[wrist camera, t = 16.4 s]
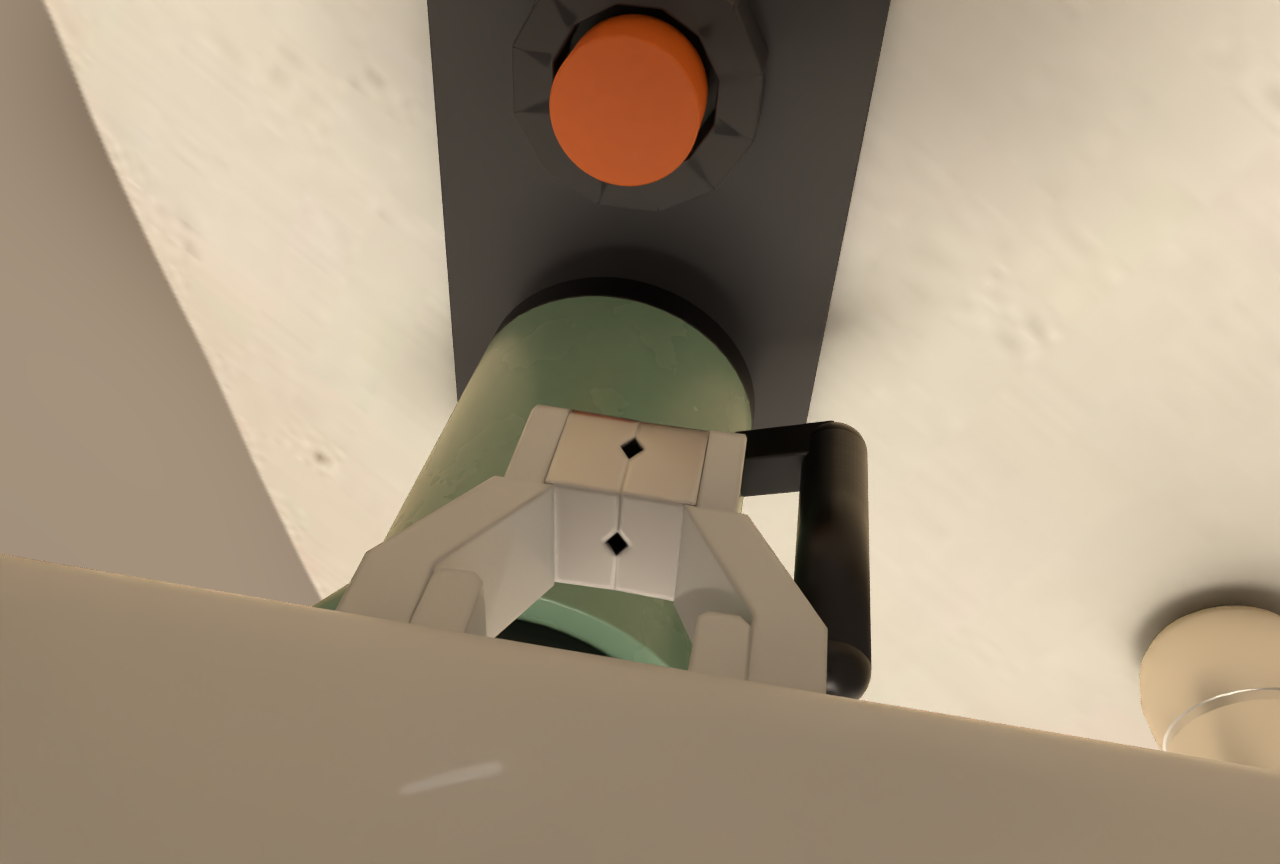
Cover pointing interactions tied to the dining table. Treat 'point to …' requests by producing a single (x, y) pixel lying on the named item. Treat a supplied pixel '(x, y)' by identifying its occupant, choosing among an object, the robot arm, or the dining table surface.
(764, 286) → the button base
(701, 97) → the power button
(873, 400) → the dining table surface
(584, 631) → the kettle
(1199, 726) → the silver tall bottle
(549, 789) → the robot arm
